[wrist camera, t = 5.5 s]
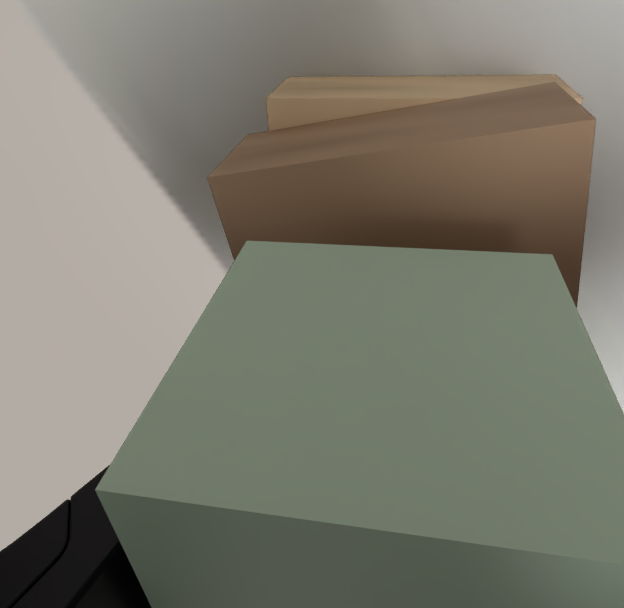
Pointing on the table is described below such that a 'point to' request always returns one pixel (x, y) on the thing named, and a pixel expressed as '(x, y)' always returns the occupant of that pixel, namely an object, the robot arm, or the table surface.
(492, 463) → the cube
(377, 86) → the tower base
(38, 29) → the table surface
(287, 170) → the tower top
